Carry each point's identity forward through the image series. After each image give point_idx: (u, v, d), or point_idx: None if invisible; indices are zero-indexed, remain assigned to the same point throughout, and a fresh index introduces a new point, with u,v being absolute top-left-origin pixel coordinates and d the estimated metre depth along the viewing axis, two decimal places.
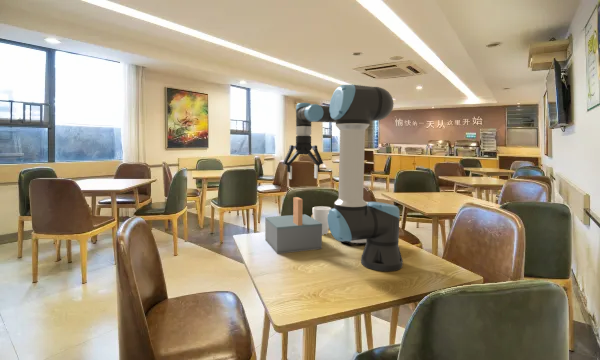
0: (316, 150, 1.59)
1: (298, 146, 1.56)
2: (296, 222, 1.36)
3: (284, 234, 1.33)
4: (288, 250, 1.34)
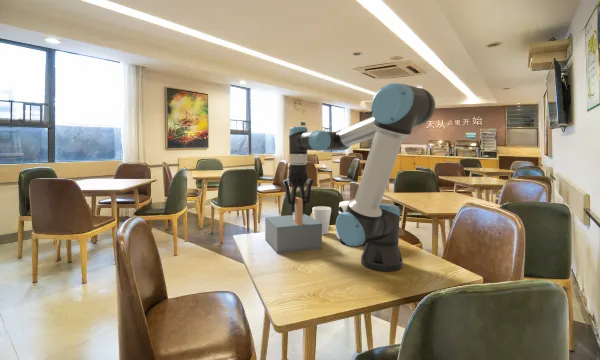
0: (310, 185, 1.36)
1: (291, 177, 1.33)
2: (296, 222, 1.36)
3: (284, 234, 1.33)
4: (288, 250, 1.34)
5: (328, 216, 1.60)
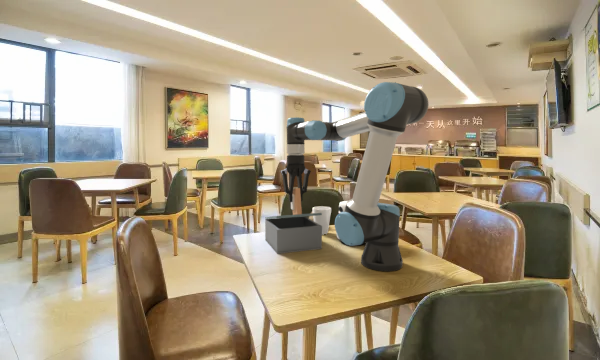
0: (307, 175, 1.39)
1: (289, 167, 1.36)
2: (295, 212, 1.36)
3: (284, 234, 1.33)
4: (288, 250, 1.34)
5: (328, 216, 1.60)
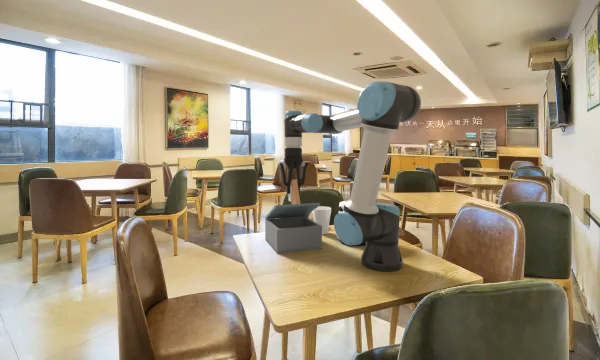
0: (304, 167, 1.41)
1: (287, 159, 1.38)
2: (294, 203, 1.38)
3: (284, 234, 1.33)
4: (288, 250, 1.34)
5: (328, 216, 1.60)
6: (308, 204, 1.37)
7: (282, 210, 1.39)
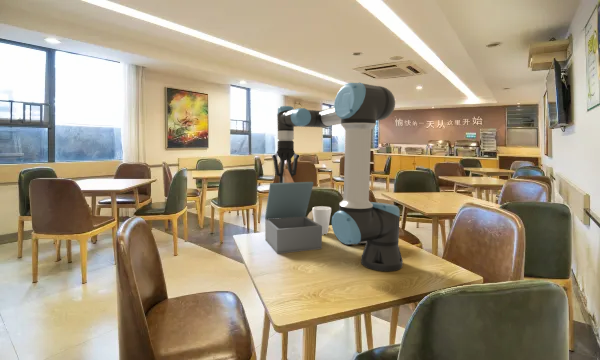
0: (296, 159, 1.51)
1: (279, 152, 1.48)
2: None
3: (284, 234, 1.33)
4: (288, 250, 1.34)
5: (328, 216, 1.60)
6: (301, 182, 1.44)
7: (278, 194, 1.44)
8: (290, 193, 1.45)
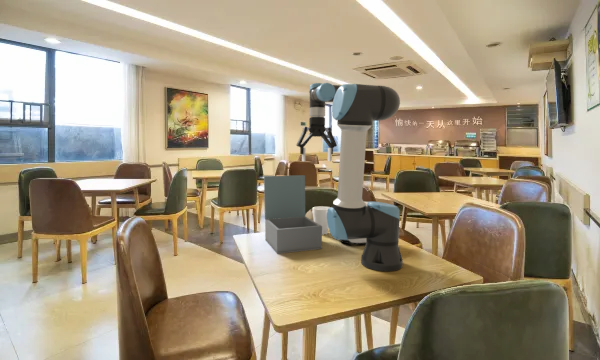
0: (330, 132, 1.57)
1: (312, 128, 1.53)
2: None
3: (284, 234, 1.33)
4: (288, 250, 1.34)
5: None
6: None
7: (273, 188, 1.51)
8: (285, 187, 1.53)
